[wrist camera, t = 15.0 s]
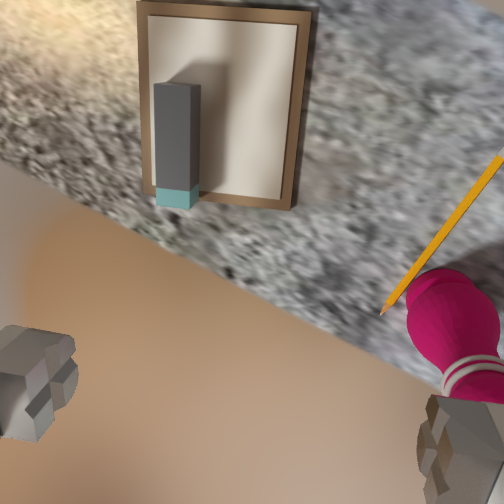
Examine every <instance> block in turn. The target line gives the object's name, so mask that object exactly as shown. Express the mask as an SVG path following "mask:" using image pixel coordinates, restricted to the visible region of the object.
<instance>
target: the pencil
mask: <svg viewBox="0 0 504 504" xmlns="http://www.w3.org/2000/svg"><path fill="white" fill-rule="evenodd" d="M503 162H504V147H503V148H502V149H501V151H500V152H499V153H498V154H497V156H496V157H495V158H494V160H493V161H492V162H491V164H490V165H489V166H488V168H487V169H486V170H485V172H484V173H483V174H482V176H481V177H480V178H479V179H478V181H477V182H476V183H475V185H474V186H473V187H472V189H471V190H470V191H469V193H468V194H467V195H466V197H465V198H464V199H463V201H462V202H461V203H460V204H459V206H458V207H457V208H456V210H455V211H454V212H453V214H452V215H451V216H450V218H449V219H448V220H447V222H446V223H445V224H444V225H443V227H442V228H441V229H440V231H439V232H438V233H437V235H436V236H435V237H434V239H433V240H432V241H431V243H430V244H429V245H428V247H427V248H426V249H425V250H424V252H423V253H422V254H421V256H420V257H419V258H418V260H417V261H416V262H415V264H414V265H413V266H412V268H411V269H410V270H409V272H408V273H407V274H406V275H405V277H404V278H403V279H402V281H401V282H400V283H399V285H398V286H397V287H396V289H395V290H394V291H393V293H392V294H391V295H390V296H389V298H388V299H387V300H386V302H385V304H384V307H383V309H382V311H381V313H380V315H382V314H383V313H384V312H386V311H387V310H388V309H389V308H390V307H391V306H393V305H394V303H395V302H396V301H397V299H398V298H399V297H400V296H401V294H402V293H403V292H404V290H405V289H406V288H407V286H408V285H409V284H410V283H411V281H412V280H413V279H414V277H415V276H416V275H417V274H418V272H419V271H420V270H421V268H422V267H423V266H424V265H425V263H426V262H427V261H428V259H429V258H430V257H431V255H432V254H433V253H434V252H435V250H436V249H437V248H438V246H439V245H440V244H441V243H442V241H443V240H444V239H445V237H446V236H447V235H448V233H449V232H450V231H451V230H452V228H453V227H454V226H455V224H456V223H457V222H458V221H459V219H460V218H461V217H462V215H463V214H464V213H465V212H466V210H467V209H468V208H469V206H470V205H471V204H472V202H473V201H474V200H475V199H476V197H477V196H478V195H479V193H480V192H481V191H482V190H483V188H484V187H485V186H486V184H487V183H488V182H489V181H490V179H491V178H492V177H493V175H494V174H495V173H496V171H497V170H498V169H499V168H500V166H501V165H502V164H503Z"/></svg>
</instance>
